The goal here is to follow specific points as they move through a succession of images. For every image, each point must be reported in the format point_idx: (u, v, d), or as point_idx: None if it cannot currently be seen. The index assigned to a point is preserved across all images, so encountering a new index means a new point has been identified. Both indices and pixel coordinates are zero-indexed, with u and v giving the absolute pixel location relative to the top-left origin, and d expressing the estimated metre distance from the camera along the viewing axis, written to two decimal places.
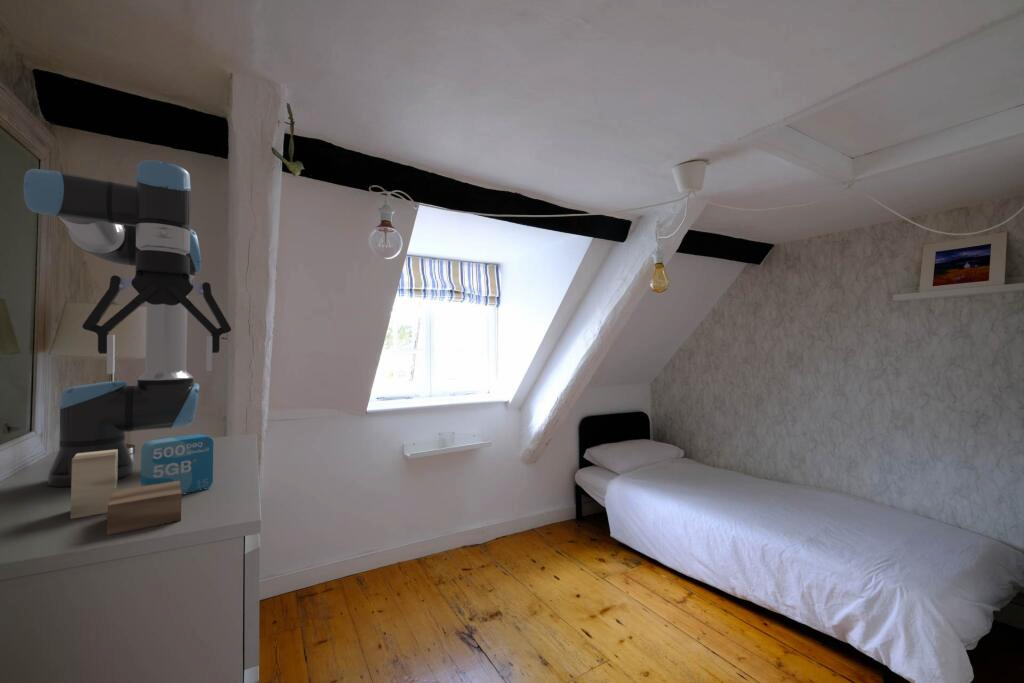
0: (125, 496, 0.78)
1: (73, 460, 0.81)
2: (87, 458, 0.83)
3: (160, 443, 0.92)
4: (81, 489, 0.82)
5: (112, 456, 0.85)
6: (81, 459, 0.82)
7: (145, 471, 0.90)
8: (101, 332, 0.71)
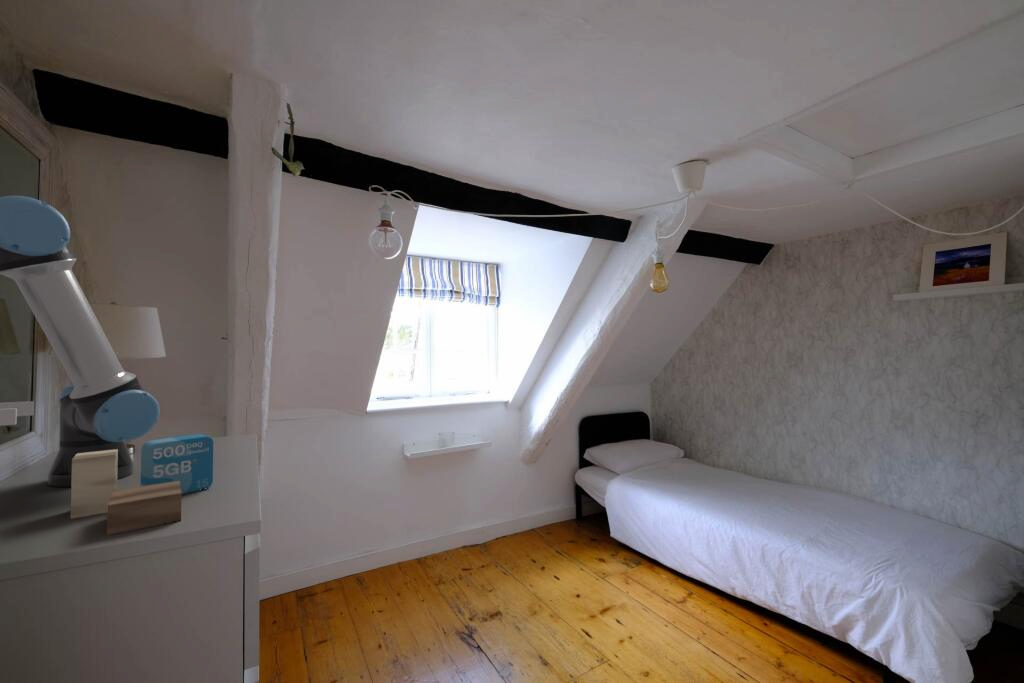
0: (125, 496, 0.78)
1: (73, 460, 0.81)
2: (87, 458, 0.83)
3: (160, 443, 0.92)
4: (81, 489, 0.82)
5: (112, 456, 0.85)
6: (81, 459, 0.82)
7: (145, 471, 0.90)
8: None
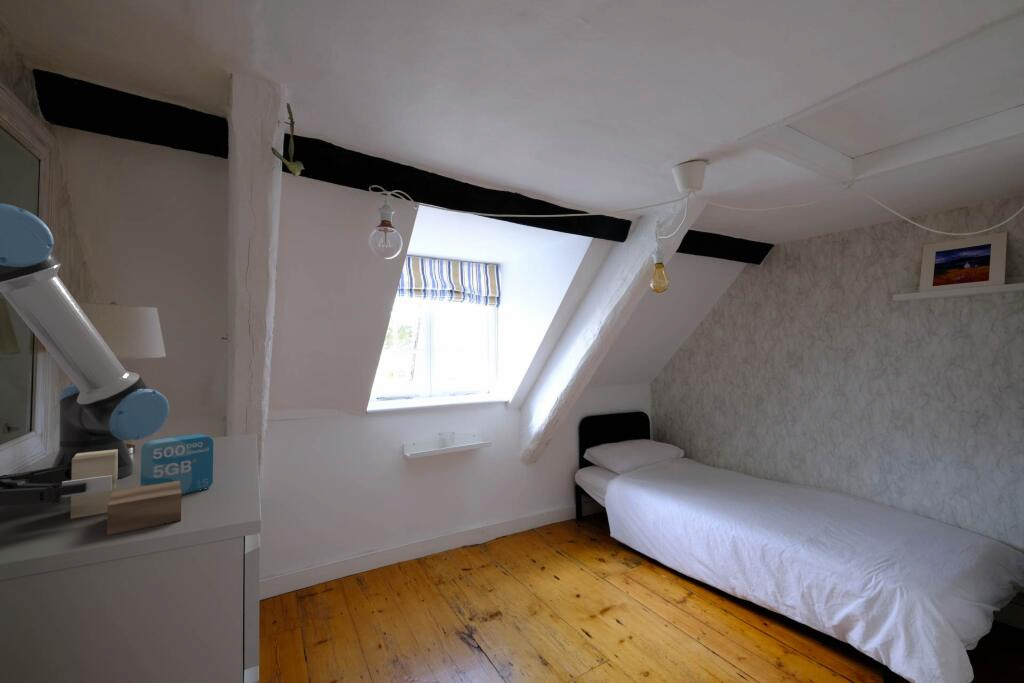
0: (125, 496, 0.78)
1: (73, 460, 0.81)
2: (87, 458, 0.83)
3: (160, 443, 0.92)
4: None
5: (112, 456, 0.85)
6: (81, 459, 0.82)
7: (145, 471, 0.90)
8: None
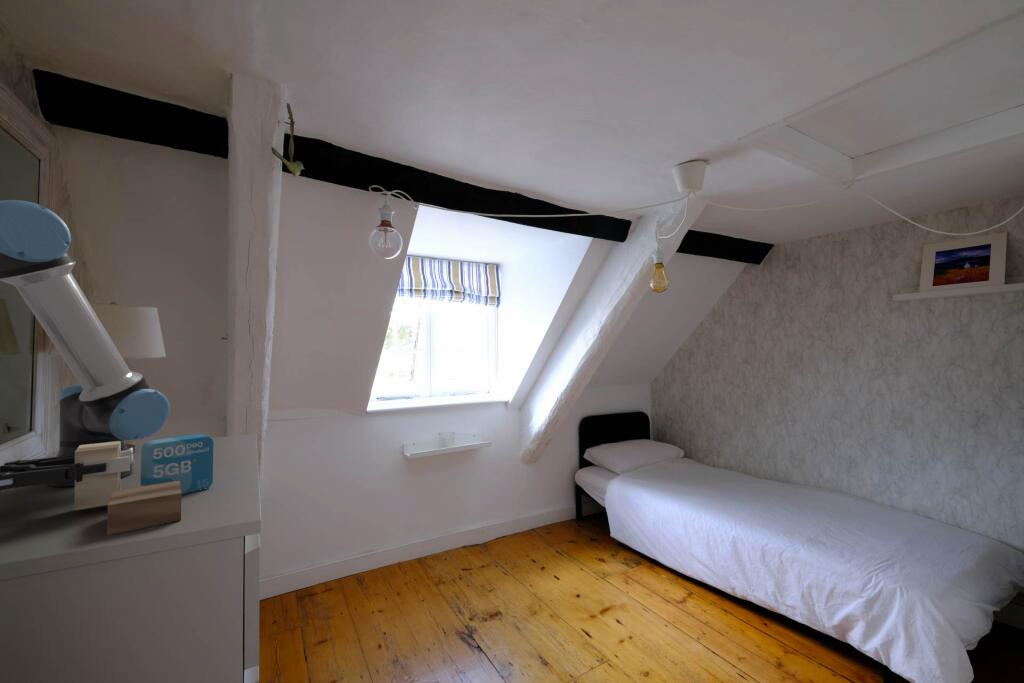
0: (125, 496, 0.78)
1: (76, 452, 0.82)
2: (90, 450, 0.83)
3: (160, 443, 0.92)
4: (85, 481, 0.82)
5: (115, 448, 0.85)
6: (84, 451, 0.82)
7: (145, 471, 0.90)
8: None
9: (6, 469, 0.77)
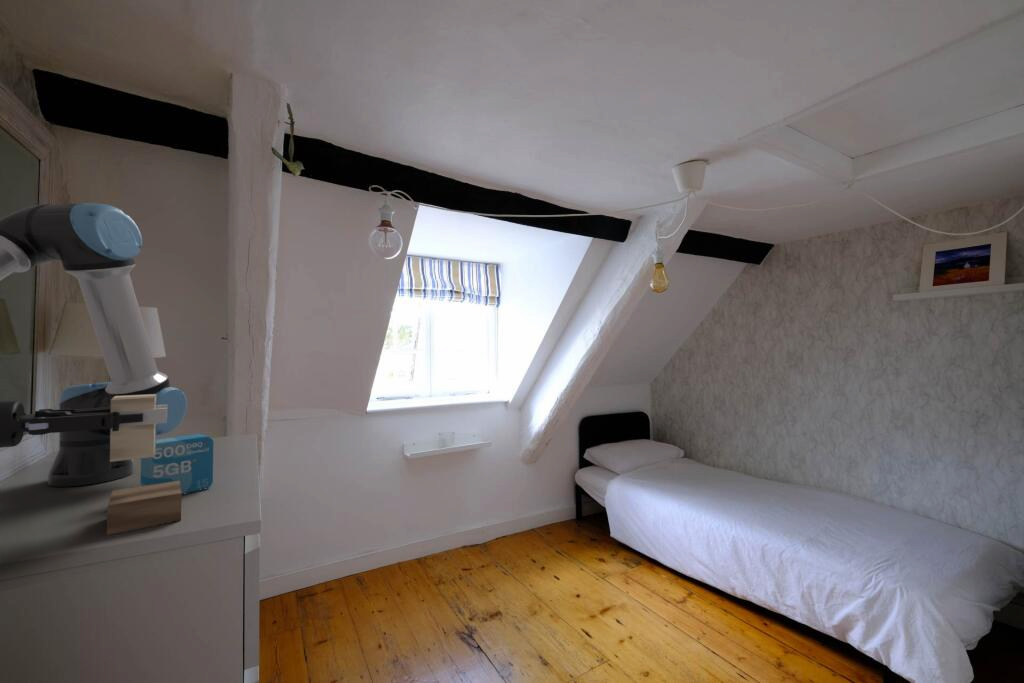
0: (125, 496, 0.78)
1: (112, 401, 0.77)
2: (126, 399, 0.78)
3: (160, 443, 0.92)
4: (120, 431, 0.78)
5: (151, 399, 0.80)
6: (120, 400, 0.78)
7: (145, 471, 0.90)
8: None
9: (41, 414, 0.73)
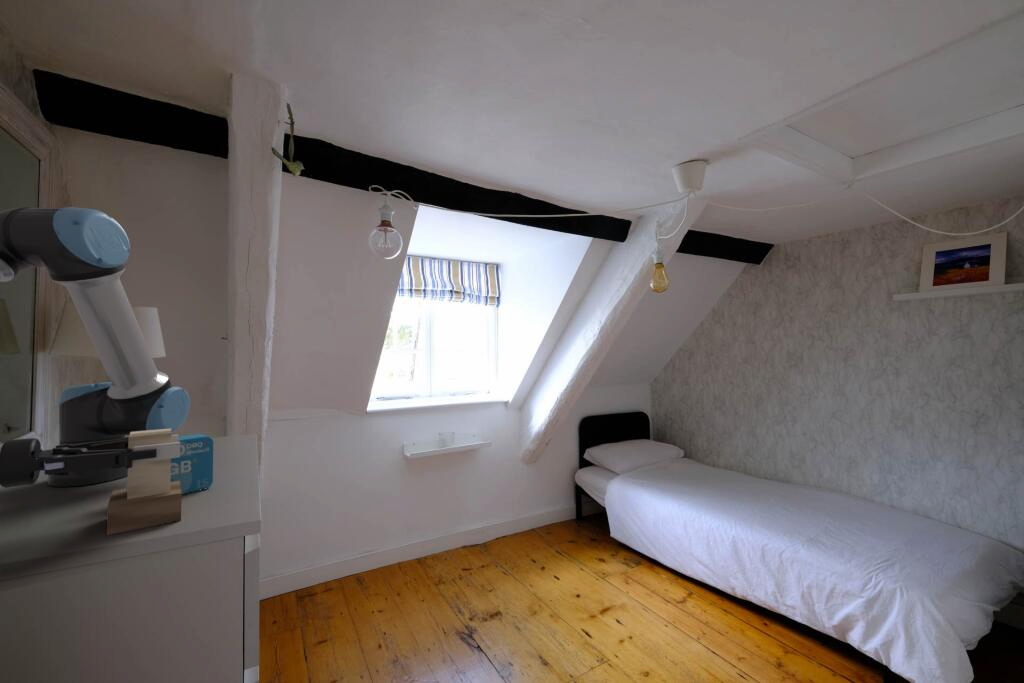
0: (125, 496, 0.78)
1: (130, 438, 0.77)
2: (143, 436, 0.79)
3: None
4: (138, 468, 0.78)
5: (168, 434, 0.81)
6: (137, 437, 0.78)
7: None
8: None
9: (58, 451, 0.72)
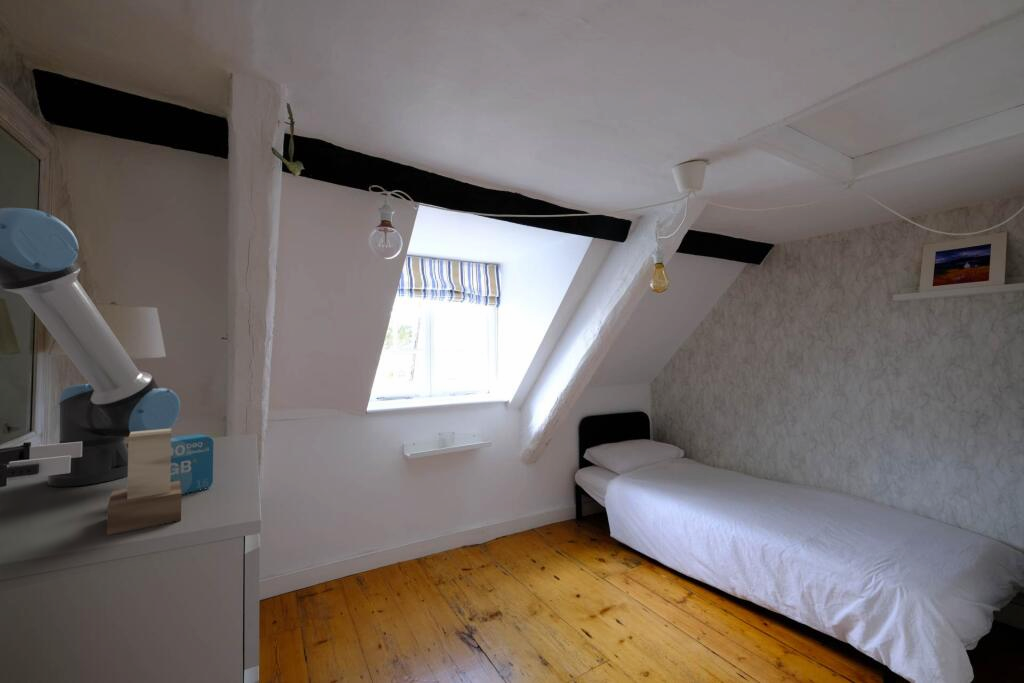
0: (125, 496, 0.78)
1: (130, 438, 0.77)
2: (143, 436, 0.79)
3: None
4: (138, 468, 0.78)
5: (168, 434, 0.81)
6: (137, 437, 0.78)
7: None
8: None
9: None
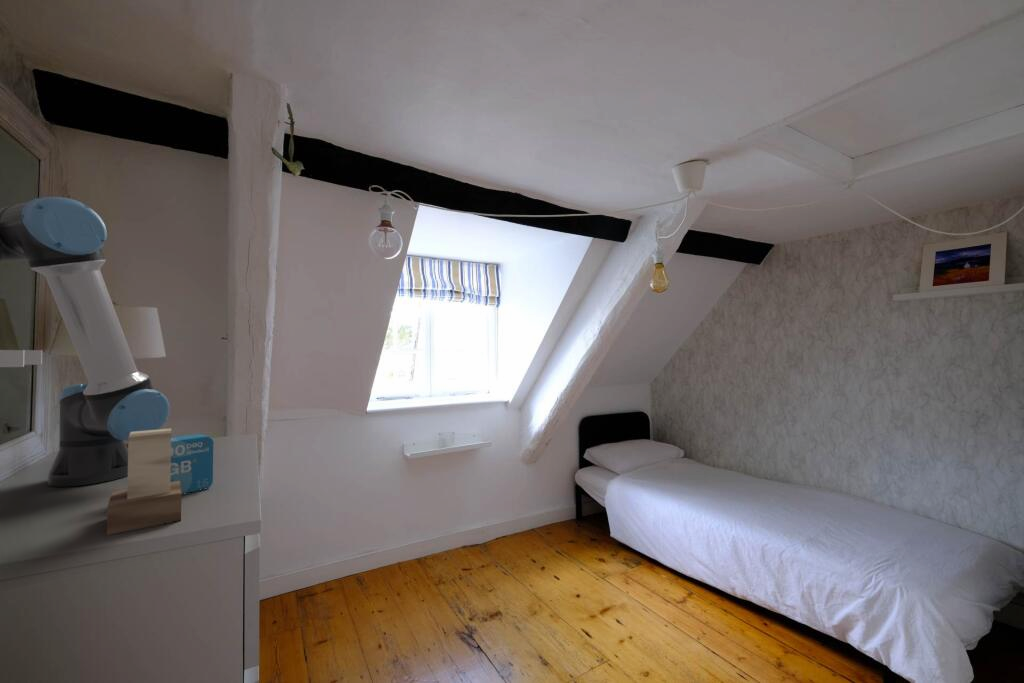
0: (125, 496, 0.78)
1: (130, 438, 0.77)
2: (143, 436, 0.79)
3: None
4: (138, 468, 0.78)
5: (168, 434, 0.81)
6: (137, 437, 0.78)
7: None
8: None
9: None
